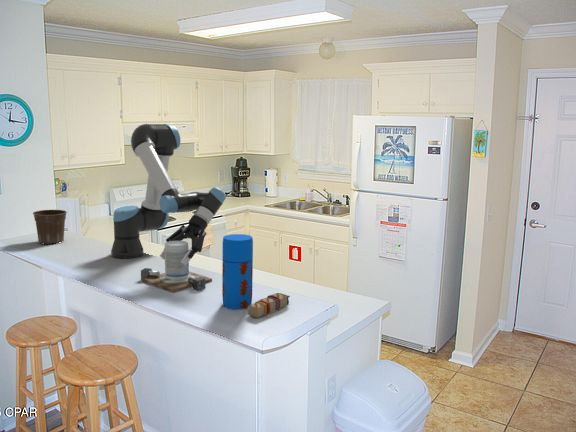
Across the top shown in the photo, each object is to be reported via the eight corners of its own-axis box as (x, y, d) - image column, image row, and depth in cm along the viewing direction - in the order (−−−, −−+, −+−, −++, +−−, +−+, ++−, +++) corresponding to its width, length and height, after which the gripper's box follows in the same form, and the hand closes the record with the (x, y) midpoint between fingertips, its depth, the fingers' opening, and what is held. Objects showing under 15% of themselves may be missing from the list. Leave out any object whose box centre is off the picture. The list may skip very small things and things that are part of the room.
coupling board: (142, 281, 212) (142, 278, 212) (181, 271, 228) (181, 268, 227) (172, 292, 200) (172, 288, 200) (212, 281, 215) (212, 277, 215)
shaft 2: (186, 286, 207) (185, 277, 207) (193, 284, 210) (193, 275, 210) (197, 290, 203) (197, 280, 202) (205, 288, 206) (205, 278, 205)
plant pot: (75, 240, 279) (73, 211, 277) (51, 247, 265) (50, 215, 262) (51, 237, 285) (50, 208, 282) (27, 243, 270) (25, 213, 267)
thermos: (218, 301, 192) (219, 235, 187) (246, 297, 196) (247, 233, 192) (227, 311, 182) (227, 241, 178) (256, 307, 186) (257, 239, 182)
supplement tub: (192, 279, 212) (192, 244, 210) (170, 282, 207) (169, 246, 205) (183, 273, 220) (183, 239, 218) (161, 276, 215) (161, 241, 213)
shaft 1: (160, 278, 217) (160, 269, 216) (156, 281, 213) (156, 272, 212) (145, 277, 218) (144, 268, 217) (140, 280, 214) (140, 270, 214)
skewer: (259, 320, 175) (260, 306, 174) (245, 316, 178) (245, 302, 177) (296, 304, 191) (296, 291, 190) (282, 300, 195) (282, 287, 194)
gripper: (225, 229, 214) (197, 272, 205) (186, 220, 229) (159, 260, 221) (216, 218, 209) (187, 261, 200) (176, 210, 224) (148, 250, 216)
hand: (172, 260), depth 210 cm, fingers open, 13 cm apart
